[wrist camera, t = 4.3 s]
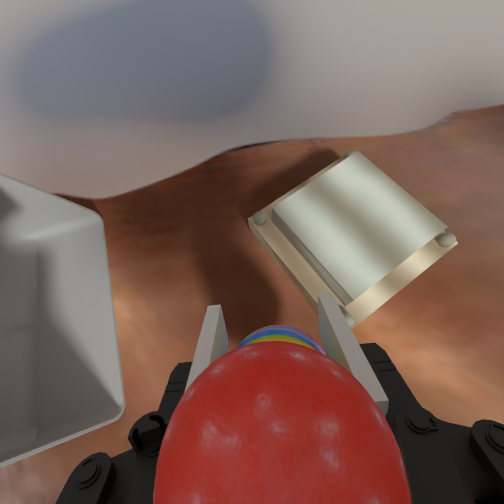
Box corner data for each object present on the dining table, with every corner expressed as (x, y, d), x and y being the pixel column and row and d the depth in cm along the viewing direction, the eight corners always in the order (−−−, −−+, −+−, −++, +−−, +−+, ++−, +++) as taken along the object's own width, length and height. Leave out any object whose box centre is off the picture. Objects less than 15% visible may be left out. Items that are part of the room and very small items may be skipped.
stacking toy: (218, 347, 22) (-1, 325, 5) (302, 312, 22) (384, 175, 5) (250, 452, 19) (-23, 1421, 2) (347, 409, 19) (899, 865, 2)
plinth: (344, 166, 35) (358, 131, 29) (440, 253, 30) (479, 230, 24) (249, 230, 32) (245, 204, 27) (336, 337, 27) (353, 333, 21)
